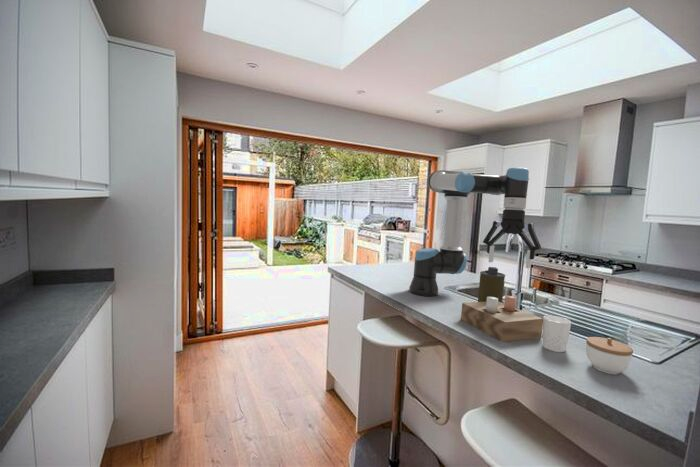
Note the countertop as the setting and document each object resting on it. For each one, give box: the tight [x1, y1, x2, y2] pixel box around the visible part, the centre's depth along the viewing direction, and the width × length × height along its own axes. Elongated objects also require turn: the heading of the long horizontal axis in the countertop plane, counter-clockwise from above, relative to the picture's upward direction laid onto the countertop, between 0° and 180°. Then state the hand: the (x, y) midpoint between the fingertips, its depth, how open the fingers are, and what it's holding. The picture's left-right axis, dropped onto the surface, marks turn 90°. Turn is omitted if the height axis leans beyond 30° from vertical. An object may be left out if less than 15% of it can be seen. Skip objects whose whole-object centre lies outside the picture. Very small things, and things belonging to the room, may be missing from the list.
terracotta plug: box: [504, 295, 517, 312], centre depth 126 cm, size 4×4×6 cm
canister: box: [477, 266, 506, 303], centre depth 145 cm, size 11×10×20 cm
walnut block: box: [460, 301, 543, 343], centre depth 125 cm, size 22×18×7 cm
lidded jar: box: [585, 336, 634, 375], centre depth 95 cm, size 11×11×9 cm
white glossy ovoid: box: [486, 297, 498, 314], centre depth 123 cm, size 4×4×6 cm
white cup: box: [541, 314, 572, 353], centre depth 109 cm, size 8×8×10 cm
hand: (508, 264), depth 124 cm, fingers open, 13 cm apart
